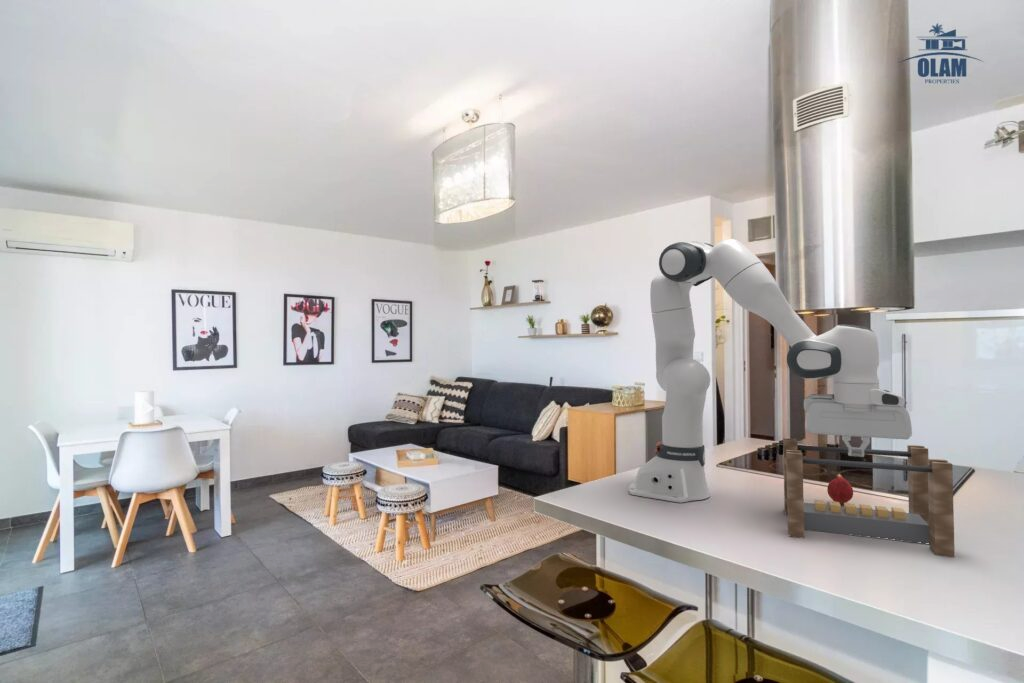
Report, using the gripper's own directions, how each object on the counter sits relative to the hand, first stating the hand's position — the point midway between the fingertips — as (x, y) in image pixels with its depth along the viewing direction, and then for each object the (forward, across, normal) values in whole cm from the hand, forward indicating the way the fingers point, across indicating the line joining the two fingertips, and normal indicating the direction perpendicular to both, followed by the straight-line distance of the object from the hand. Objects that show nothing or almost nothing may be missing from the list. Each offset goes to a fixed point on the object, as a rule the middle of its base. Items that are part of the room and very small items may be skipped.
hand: (856, 455), depth 118 cm
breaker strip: (+17, 0, 0) cm, 17 cm away
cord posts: (+17, 0, 0) cm, 17 cm away
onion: (+17, -1, +20) cm, 26 cm away
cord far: (+1, 0, +8) cm, 8 cm away
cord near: (+1, 0, -8) cm, 8 cm away
